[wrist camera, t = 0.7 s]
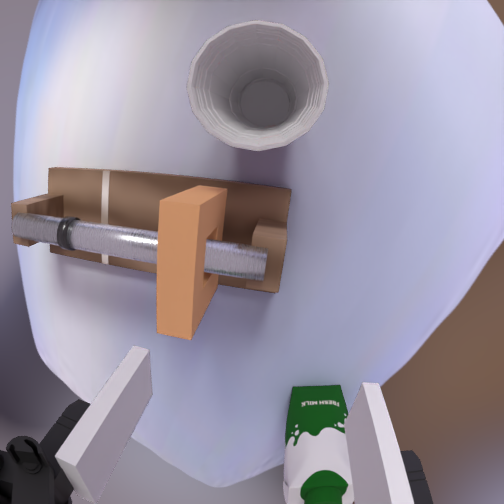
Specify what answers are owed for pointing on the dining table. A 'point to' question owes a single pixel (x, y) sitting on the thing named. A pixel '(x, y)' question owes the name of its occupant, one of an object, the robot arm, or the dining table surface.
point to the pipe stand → (147, 213)
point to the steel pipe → (135, 244)
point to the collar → (186, 257)
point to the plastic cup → (257, 85)
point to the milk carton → (317, 448)
